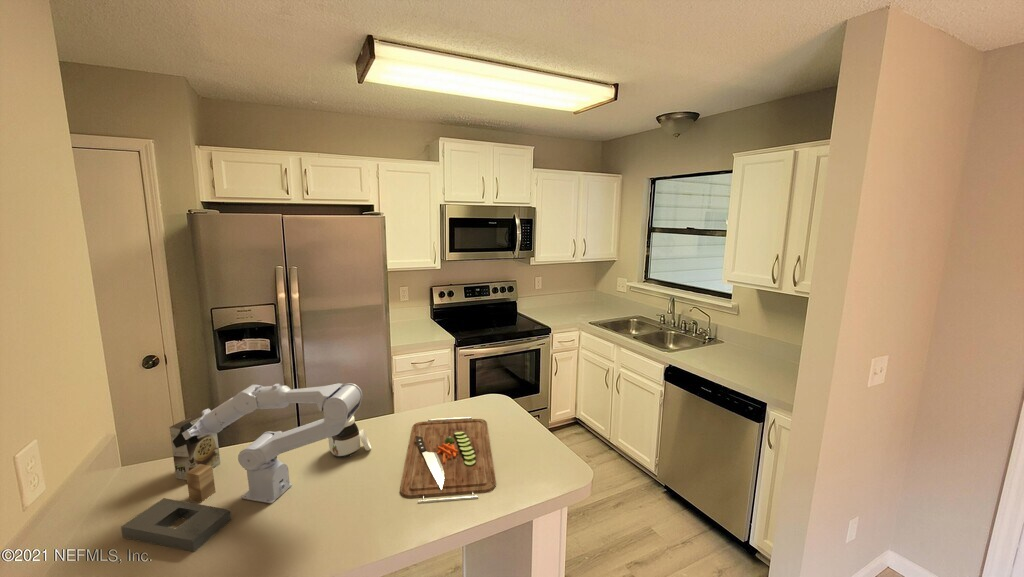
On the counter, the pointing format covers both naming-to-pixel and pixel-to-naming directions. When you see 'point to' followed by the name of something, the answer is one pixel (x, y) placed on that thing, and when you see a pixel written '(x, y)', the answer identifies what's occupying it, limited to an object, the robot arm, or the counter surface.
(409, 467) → the chopping board
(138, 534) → the grey peg hole board
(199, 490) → the square peg
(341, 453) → the spread jar
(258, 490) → the robot arm
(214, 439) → the coffee box
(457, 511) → the counter surface
